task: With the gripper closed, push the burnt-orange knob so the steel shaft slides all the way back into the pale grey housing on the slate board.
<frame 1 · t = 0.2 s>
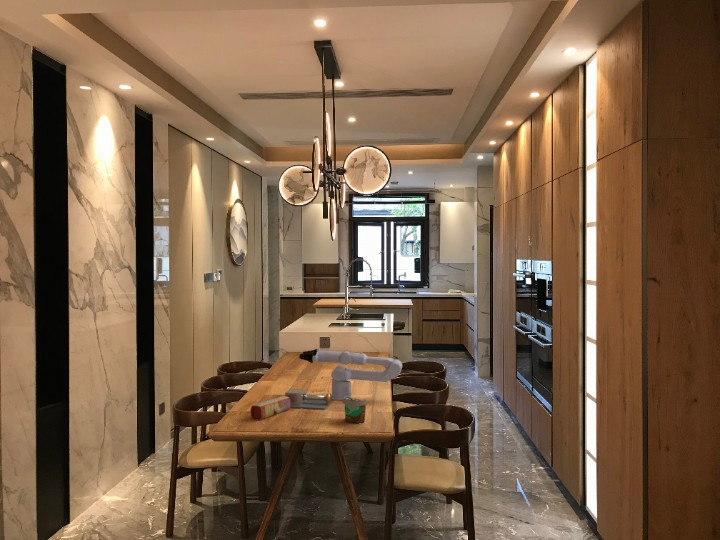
hand: (301, 355, 281), 21 cm above the table, tool horizontal, fingers open, 7 cm apart
snack package: (271, 415, 250), on the table
food container: (351, 422, 239), on the table
bearing housing: (295, 404, 267), resting on slate base board
steel shaft: (313, 397, 265), point 4 cm above the table, slide at 6.0 cm
slate base board: (305, 404, 266), on the table
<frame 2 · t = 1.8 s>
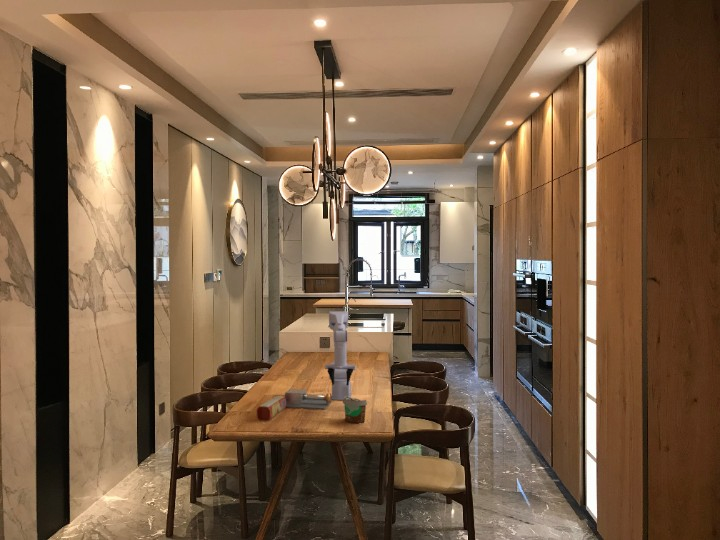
hand: (340, 384, 263), 10 cm above the table, tool pointing down, fingers open, 6 cm apart
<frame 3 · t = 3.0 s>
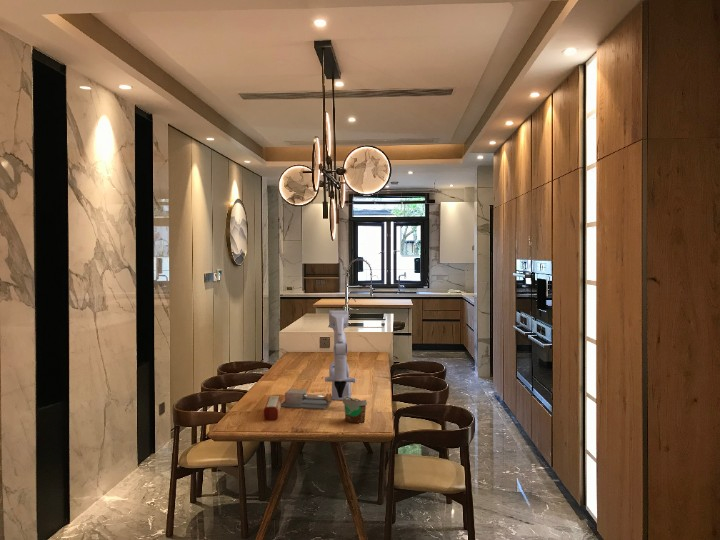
hand: (340, 397, 263), 4 cm above the table, tool pointing down, fingers closed
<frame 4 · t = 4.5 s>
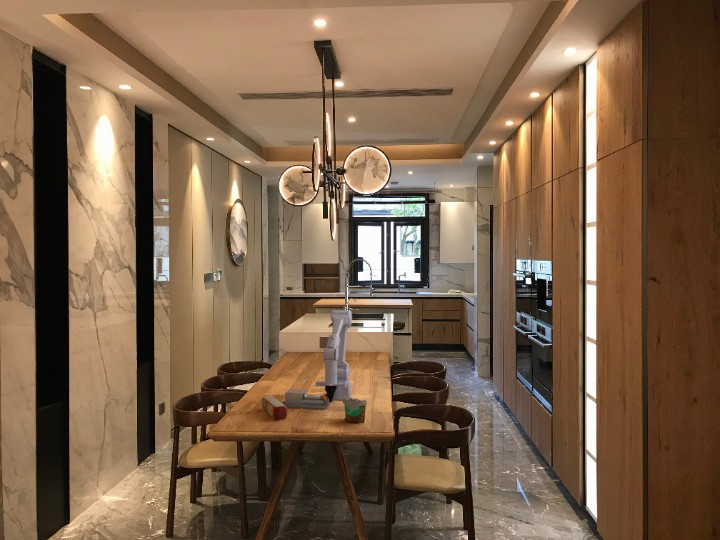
hand: (330, 401, 264), 2 cm above the table, tool pointing down, fingers closed
steel shaft: (310, 397, 266), point 4 cm above the table, slide at 4.5 cm, touching gripper
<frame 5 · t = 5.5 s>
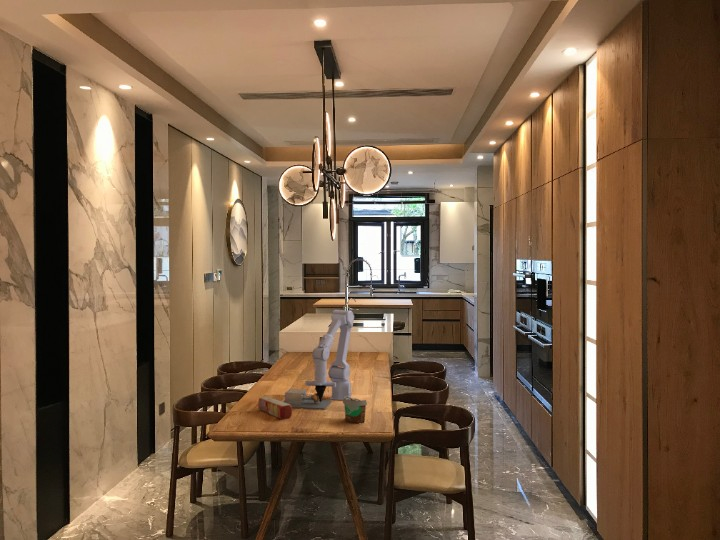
hand: (320, 401, 265), 2 cm above the table, tool pointing down, fingers closed
steel shaft: (301, 397, 267), point 4 cm above the table, slide at -0.1 cm, touching gripper
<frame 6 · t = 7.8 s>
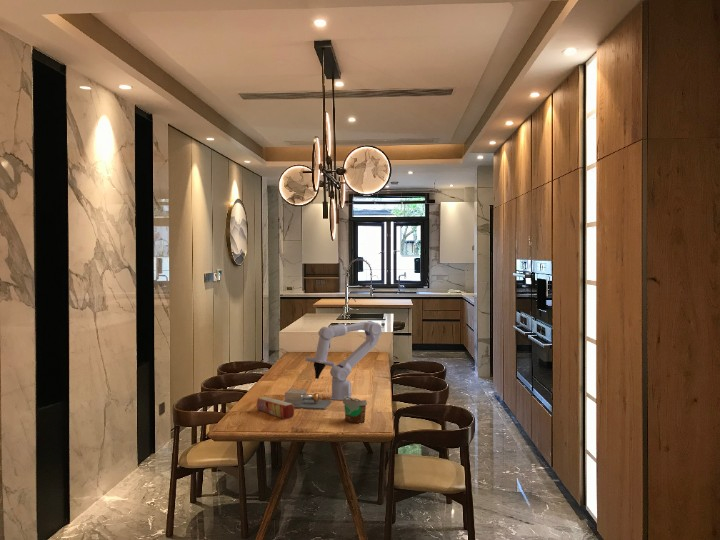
hand: (316, 378, 274), 11 cm above the table, tool pointing down, fingers closed
steel shaft: (301, 397, 266), point 4 cm above the table, slide at 0.0 cm
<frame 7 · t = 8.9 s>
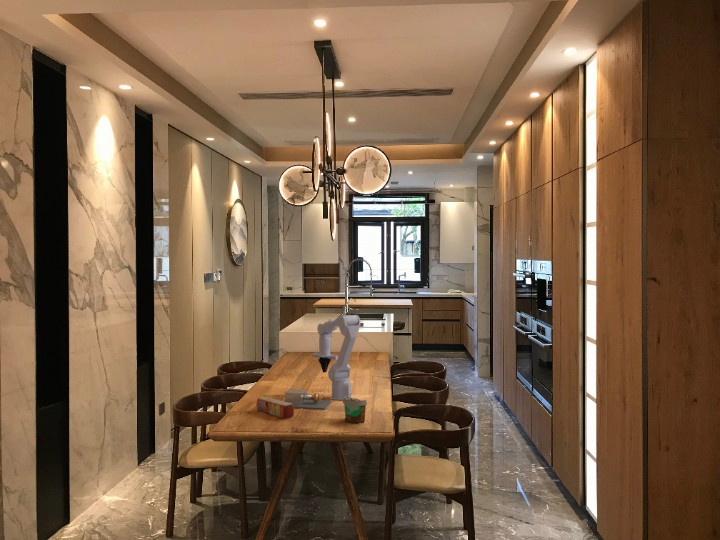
hand: (324, 372, 291), 10 cm above the table, tool pointing down, fingers closed
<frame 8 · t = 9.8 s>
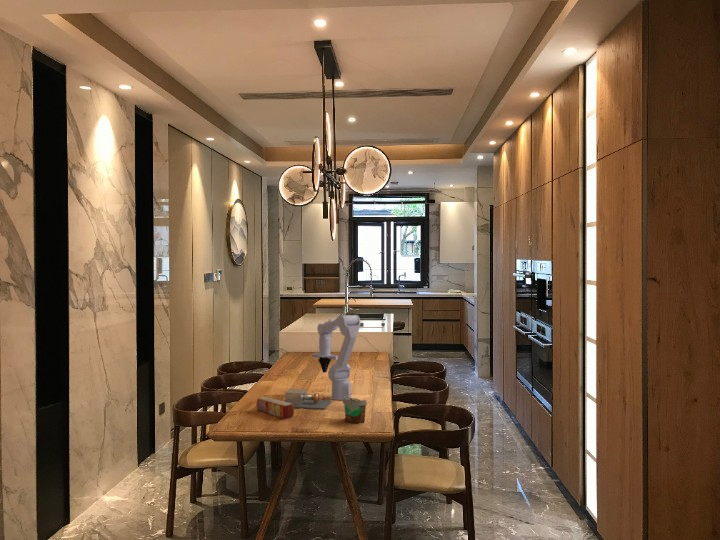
hand: (324, 372, 291), 10 cm above the table, tool pointing down, fingers closed
at the end: steel shaft slide at 0.0 cm; food container moved 0.2 cm from its start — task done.
